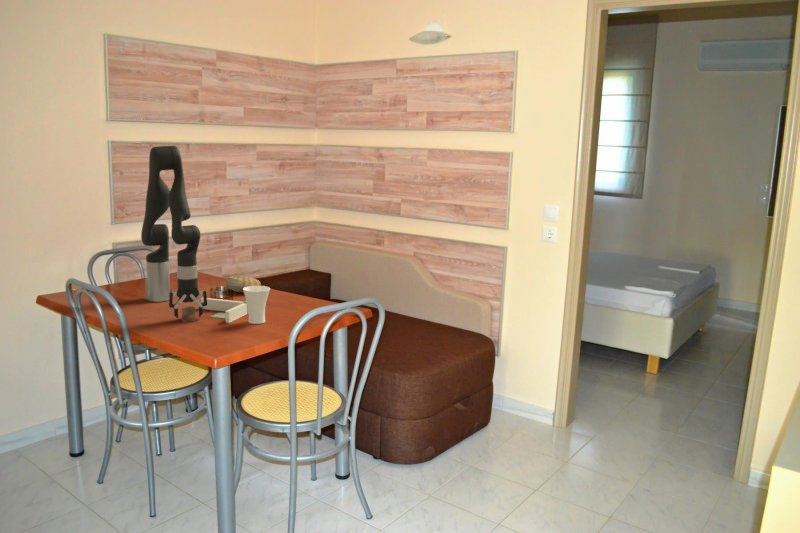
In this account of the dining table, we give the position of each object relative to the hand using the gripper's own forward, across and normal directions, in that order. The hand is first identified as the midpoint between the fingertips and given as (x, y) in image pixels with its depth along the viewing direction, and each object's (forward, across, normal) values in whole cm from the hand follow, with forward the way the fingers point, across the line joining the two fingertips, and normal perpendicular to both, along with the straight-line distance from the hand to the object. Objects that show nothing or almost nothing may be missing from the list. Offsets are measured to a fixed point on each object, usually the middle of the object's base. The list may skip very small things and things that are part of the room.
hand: (188, 316), depth 261 cm
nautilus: (+1, +24, +46) cm, 52 cm away
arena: (+1, +10, +4) cm, 11 cm away
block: (+1, 0, 0) cm, 1 cm away
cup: (+1, +25, -9) cm, 27 cm away
